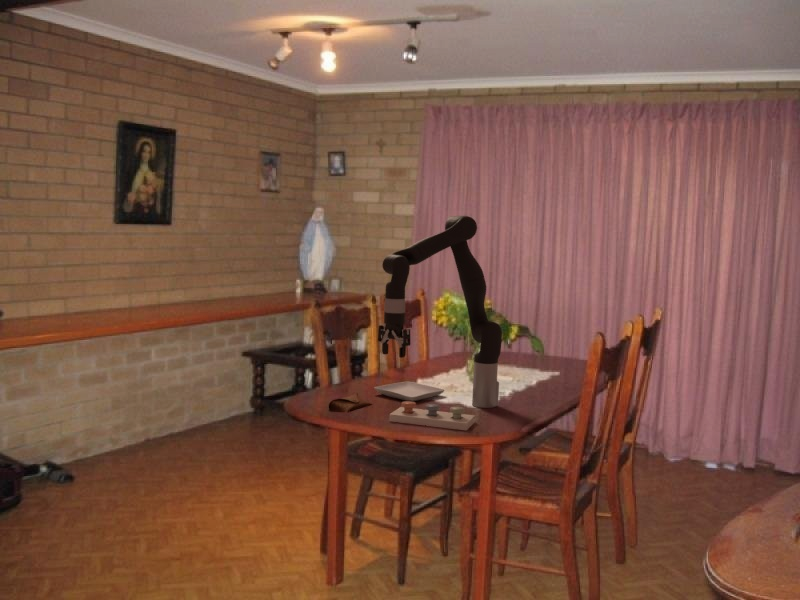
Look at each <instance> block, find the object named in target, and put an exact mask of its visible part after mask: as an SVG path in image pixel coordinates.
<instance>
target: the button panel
mask: <svg viewBox="0 0 800 600" xmlns="http://www.w3.org/2000/svg"><path fill="white" fill-rule="evenodd" d="M388 421H389V422H394V423H400V424H401V423H402V424H410V425H419V426H425V425H426V427H427V426H428V427H435V428H441V429H442V428H443V429H450V430H460V431H468V430H469V428H470V427H471V426H472V425H474V424H475V423H476V422H475V421H476V415H474V414H466V413H462V414H461V420H460V419H453V413H451V412H450V411H449V412H447V411H440V410H438V411H437V417H434V416H428V410H426V409H421V408H413V414H408V413H404V407H402V406H400V407H399V408H397V409H395V410H394V411H392V412H391V413H389V419H388Z"/></svg>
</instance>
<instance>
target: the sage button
mask: <svg viewBox="0 0 800 600" xmlns="http://www.w3.org/2000/svg"><path fill="white" fill-rule="evenodd" d="M449 413H453V419H460V420H461V414H466V408H465V407H462V406H451V407H449Z"/></svg>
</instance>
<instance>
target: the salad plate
mask: <svg viewBox="0 0 800 600" xmlns="http://www.w3.org/2000/svg"><path fill="white" fill-rule="evenodd" d="M373 388H374V390H375V391H377V392H378V393H380V394H381V395H384V396H387V397H389V398H393V399H398V400H402V401H411V402H416V401H420V400H425V399H429V398H430V399H431V398H433V396H434V397H436V396H440V395H441V394H443V393H444V392H445V391H446V389H445V388H439V387H435V386H432V385H431V386H430V385H427V384H421V383H418V382H413V381H401V382H394V383H388V384H383V385H380V386H374V387H373Z"/></svg>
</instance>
